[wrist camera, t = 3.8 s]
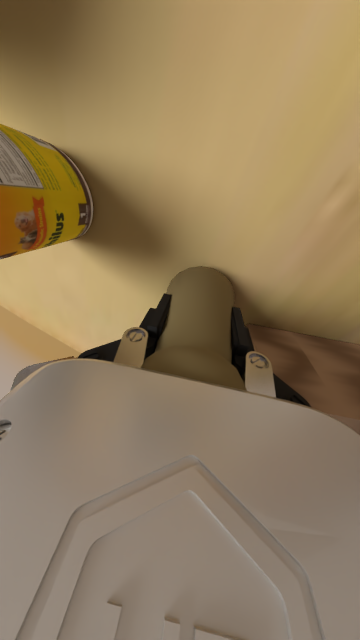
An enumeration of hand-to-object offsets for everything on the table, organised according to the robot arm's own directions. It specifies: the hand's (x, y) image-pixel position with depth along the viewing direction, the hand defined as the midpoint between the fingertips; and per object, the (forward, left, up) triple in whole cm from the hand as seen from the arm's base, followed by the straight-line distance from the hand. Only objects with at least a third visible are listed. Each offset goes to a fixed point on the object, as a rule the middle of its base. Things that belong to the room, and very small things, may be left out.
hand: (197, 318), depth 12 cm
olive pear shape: (0, 0, -3) cm, 3 cm away
